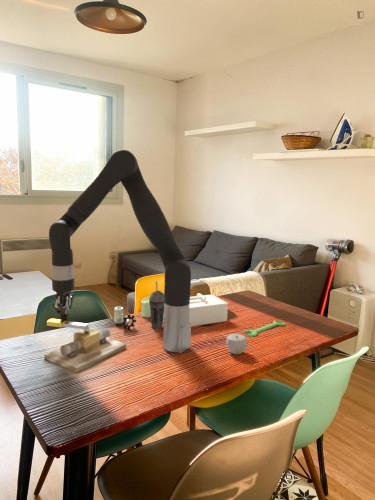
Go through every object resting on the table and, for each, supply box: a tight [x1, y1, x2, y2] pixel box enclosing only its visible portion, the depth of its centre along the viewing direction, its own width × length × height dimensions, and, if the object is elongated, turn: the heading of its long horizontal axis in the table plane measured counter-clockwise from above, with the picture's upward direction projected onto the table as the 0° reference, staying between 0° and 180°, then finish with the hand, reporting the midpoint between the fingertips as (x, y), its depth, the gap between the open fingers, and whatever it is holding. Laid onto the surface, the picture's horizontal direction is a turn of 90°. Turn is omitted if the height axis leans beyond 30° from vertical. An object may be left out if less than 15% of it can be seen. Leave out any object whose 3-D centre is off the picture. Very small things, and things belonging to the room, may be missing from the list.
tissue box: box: [163, 292, 229, 327], centre depth 169 cm, size 14×25×11 cm, turn 117°
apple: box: [225, 333, 248, 355], centre depth 136 cm, size 8×8×7 cm
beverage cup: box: [149, 280, 164, 330], centre depth 157 cm, size 7×7×20 cm
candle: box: [141, 296, 151, 318], centre depth 171 cm, size 5×5×8 cm
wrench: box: [243, 320, 286, 338], centre depth 161 cm, size 25×2×5 cm
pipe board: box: [43, 327, 127, 373], centre depth 131 cm, size 16×23×8 cm
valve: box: [113, 306, 137, 331], centre depth 159 cm, size 7×7×12 cm
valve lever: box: [46, 318, 90, 333], centre depth 132 cm, size 15×3×3 cm, turn 78°
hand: (64, 322), depth 136 cm, fingers closed
